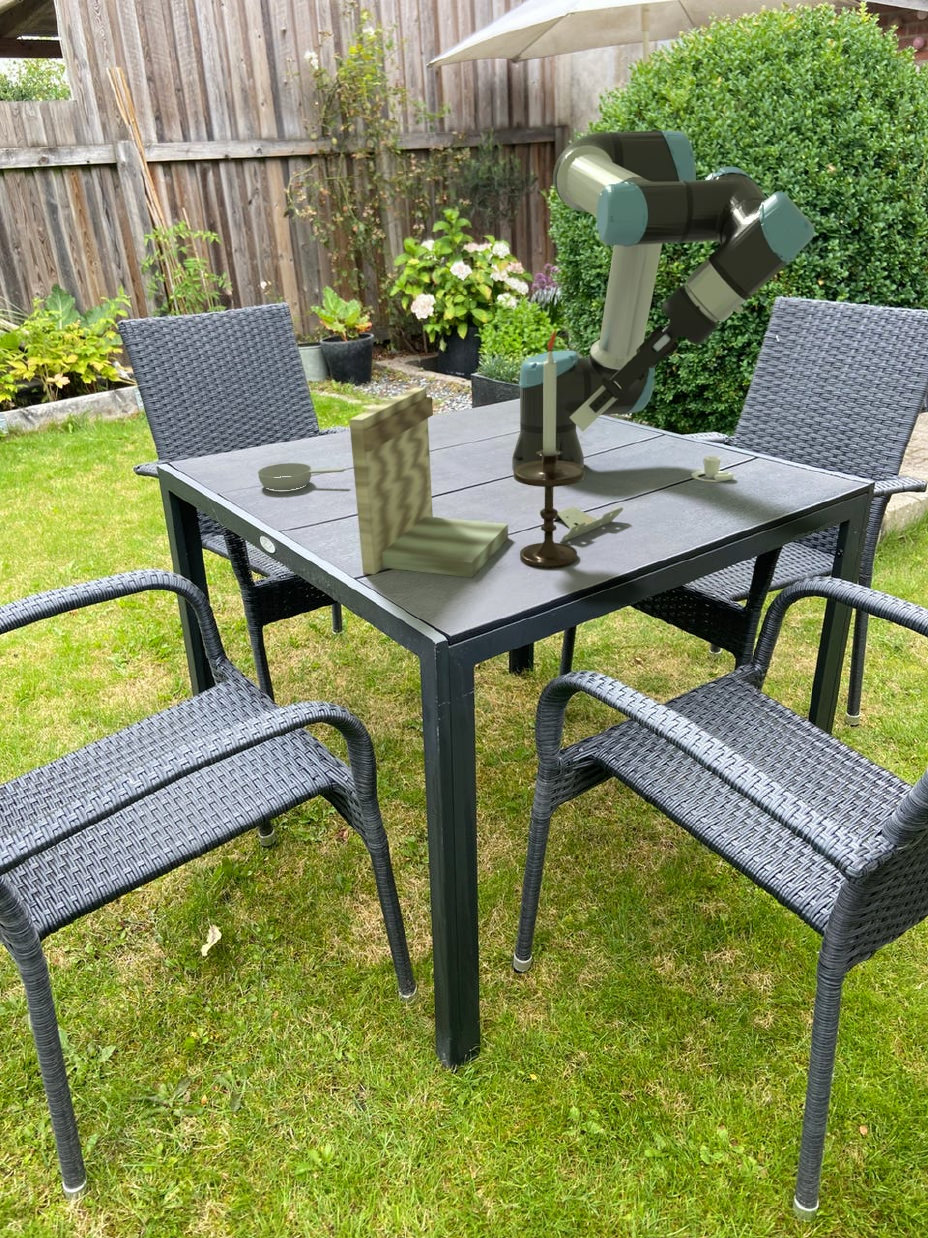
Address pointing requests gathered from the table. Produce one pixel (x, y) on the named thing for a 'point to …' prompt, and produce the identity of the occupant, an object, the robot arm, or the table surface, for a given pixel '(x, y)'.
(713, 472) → the teacup and saucer
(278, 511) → the table surface
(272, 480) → the small pan
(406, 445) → the pale wooden blocky structure
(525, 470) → the candlestick
